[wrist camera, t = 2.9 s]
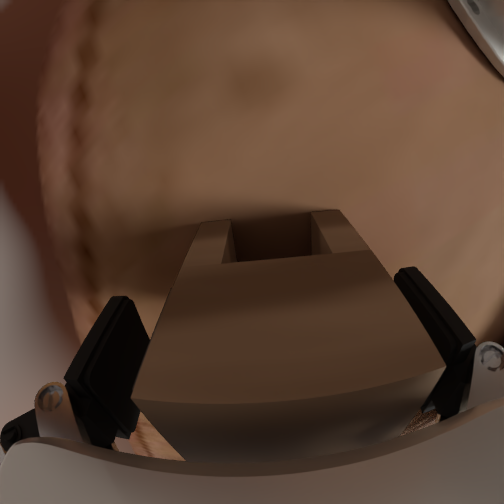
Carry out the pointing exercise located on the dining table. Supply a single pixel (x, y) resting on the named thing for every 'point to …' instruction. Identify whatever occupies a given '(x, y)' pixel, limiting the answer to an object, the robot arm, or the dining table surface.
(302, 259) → the notched wooden block
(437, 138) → the dining table surface
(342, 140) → the dining table surface
